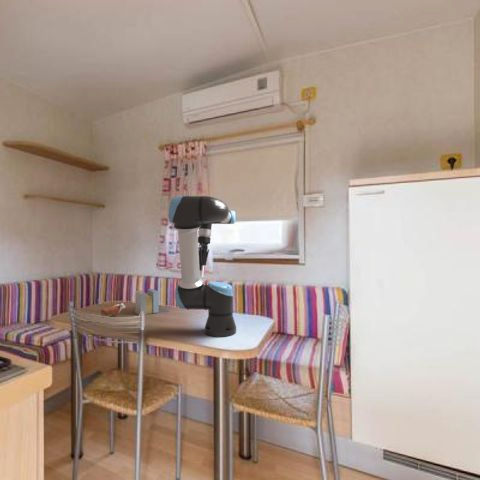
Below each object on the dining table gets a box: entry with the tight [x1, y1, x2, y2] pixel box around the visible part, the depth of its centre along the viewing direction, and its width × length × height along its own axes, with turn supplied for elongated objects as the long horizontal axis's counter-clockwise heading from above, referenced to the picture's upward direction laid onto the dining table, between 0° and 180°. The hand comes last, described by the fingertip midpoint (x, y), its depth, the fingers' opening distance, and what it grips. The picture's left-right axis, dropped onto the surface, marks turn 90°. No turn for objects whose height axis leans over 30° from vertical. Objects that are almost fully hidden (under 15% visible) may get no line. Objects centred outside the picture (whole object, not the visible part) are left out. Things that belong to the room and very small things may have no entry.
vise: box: [134, 290, 170, 316], centre depth 171 cm, size 17×11×13 cm, turn 125°
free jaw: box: [147, 288, 160, 314], centre depth 172 cm, size 3×10×12 cm, turn 35°
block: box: [146, 293, 153, 315], centre depth 169 cm, size 4×8×10 cm, turn 35°
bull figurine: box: [100, 302, 126, 317], centre depth 159 cm, size 4×13×8 cm, turn 138°
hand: (200, 276), depth 172 cm, fingers closed
